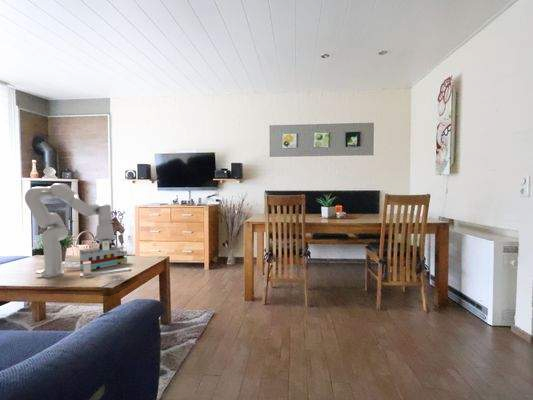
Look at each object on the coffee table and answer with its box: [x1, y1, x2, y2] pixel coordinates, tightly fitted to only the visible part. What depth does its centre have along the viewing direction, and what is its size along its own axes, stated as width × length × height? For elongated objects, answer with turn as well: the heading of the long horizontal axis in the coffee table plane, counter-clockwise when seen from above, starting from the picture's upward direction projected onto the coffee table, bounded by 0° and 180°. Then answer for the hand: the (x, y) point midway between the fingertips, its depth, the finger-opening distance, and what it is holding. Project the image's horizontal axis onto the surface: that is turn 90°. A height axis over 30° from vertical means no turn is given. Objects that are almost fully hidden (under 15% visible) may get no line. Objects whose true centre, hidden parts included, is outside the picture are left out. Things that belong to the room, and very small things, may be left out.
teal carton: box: [101, 239, 110, 253], centre depth 206 cm, size 4×7×8 cm, turn 32°
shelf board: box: [79, 267, 132, 278], centre depth 206 cm, size 30×11×2 cm, turn 122°
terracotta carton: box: [82, 261, 92, 275], centre depth 200 cm, size 4×7×8 cm
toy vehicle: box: [79, 244, 128, 271], centre depth 224 cm, size 8×30×15 cm, turn 143°
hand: (105, 249), depth 206 cm, fingers closed on teal carton, 4 cm apart
